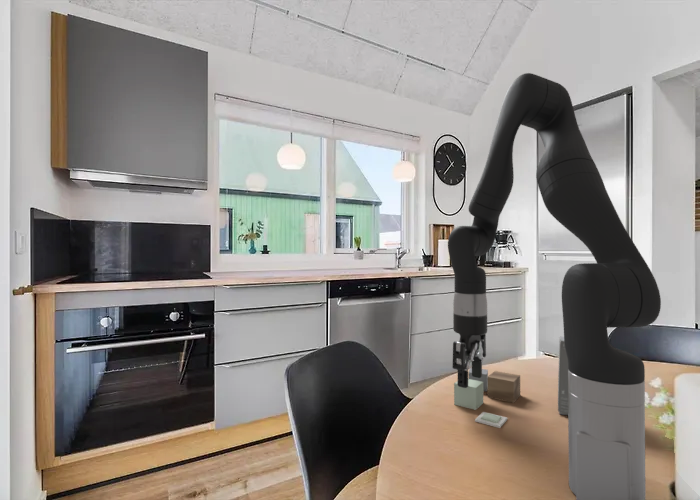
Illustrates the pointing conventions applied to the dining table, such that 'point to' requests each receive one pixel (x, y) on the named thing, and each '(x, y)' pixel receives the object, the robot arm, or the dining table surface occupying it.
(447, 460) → the dining table surface
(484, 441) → the dining table surface
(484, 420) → the tile
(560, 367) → the skincare box
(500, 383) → the walnut block
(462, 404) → the sage block
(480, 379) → the slate block
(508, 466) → the dining table surface
